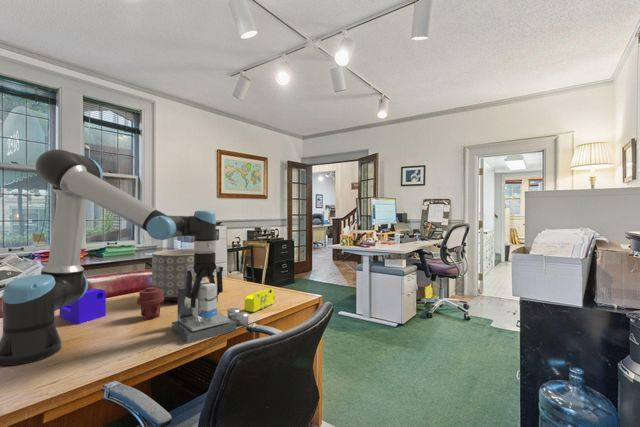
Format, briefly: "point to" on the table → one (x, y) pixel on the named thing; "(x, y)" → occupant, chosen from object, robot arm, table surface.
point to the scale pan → (203, 322)
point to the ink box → (207, 300)
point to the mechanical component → (150, 302)
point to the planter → (172, 271)
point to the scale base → (186, 311)
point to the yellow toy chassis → (259, 300)
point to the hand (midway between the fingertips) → (204, 313)
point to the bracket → (86, 307)
